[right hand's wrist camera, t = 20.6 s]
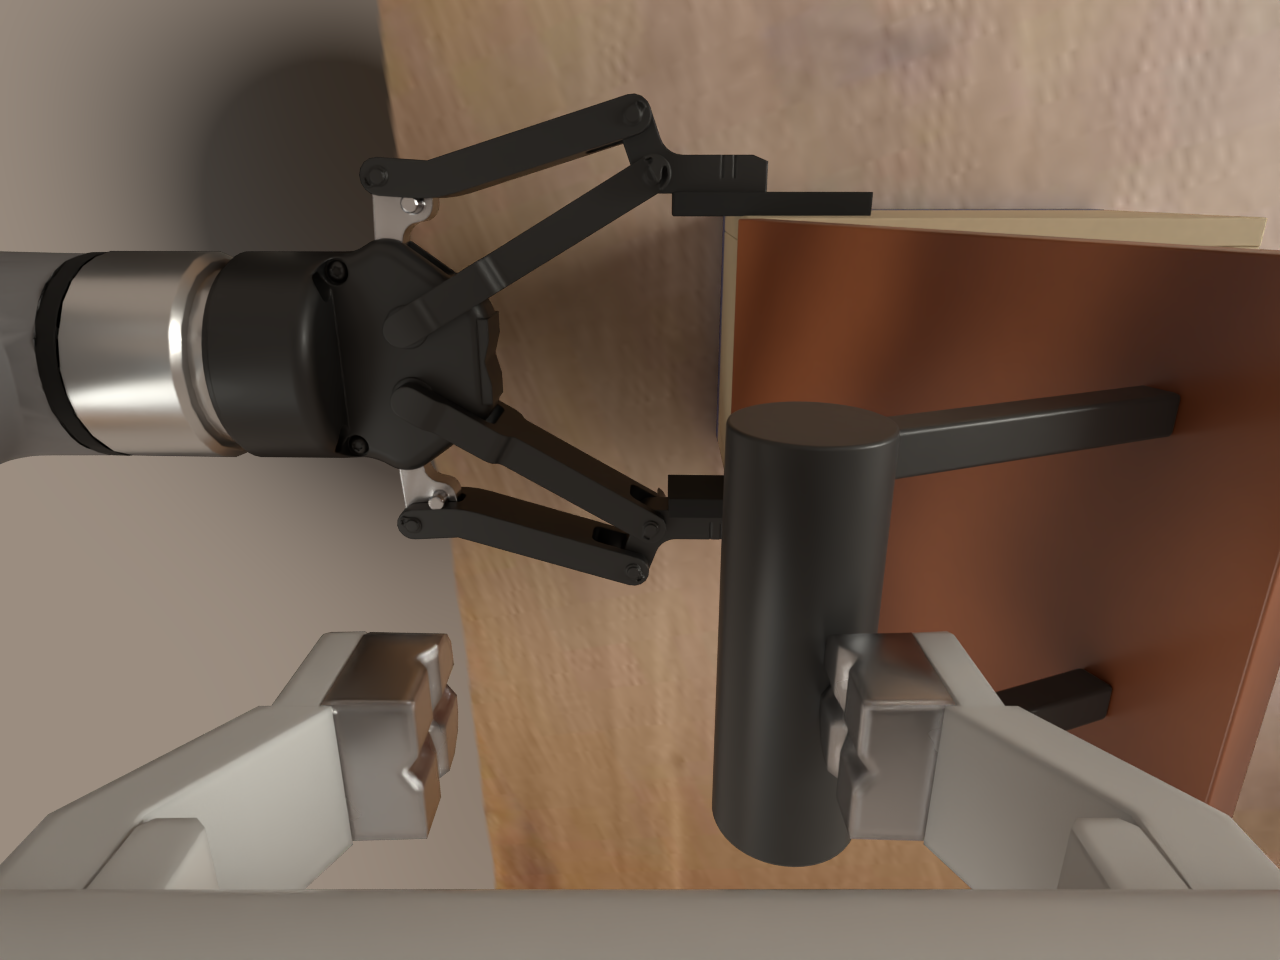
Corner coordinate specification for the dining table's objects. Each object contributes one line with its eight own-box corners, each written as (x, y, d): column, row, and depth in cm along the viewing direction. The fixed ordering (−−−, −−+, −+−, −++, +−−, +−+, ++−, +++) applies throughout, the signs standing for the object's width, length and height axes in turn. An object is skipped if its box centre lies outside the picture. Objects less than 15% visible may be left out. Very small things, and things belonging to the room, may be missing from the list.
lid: (1411, 258, 10) (862, 287, 7) (1215, 875, 14) (791, 1064, 11) (761, 218, 24) (488, 222, 21) (747, 525, 28) (509, 565, 25)
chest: (1092, 209, 34) (1268, 217, 24) (1051, 437, 37) (1190, 526, 28) (723, 209, 34) (748, 217, 24) (716, 435, 38) (735, 522, 28)
